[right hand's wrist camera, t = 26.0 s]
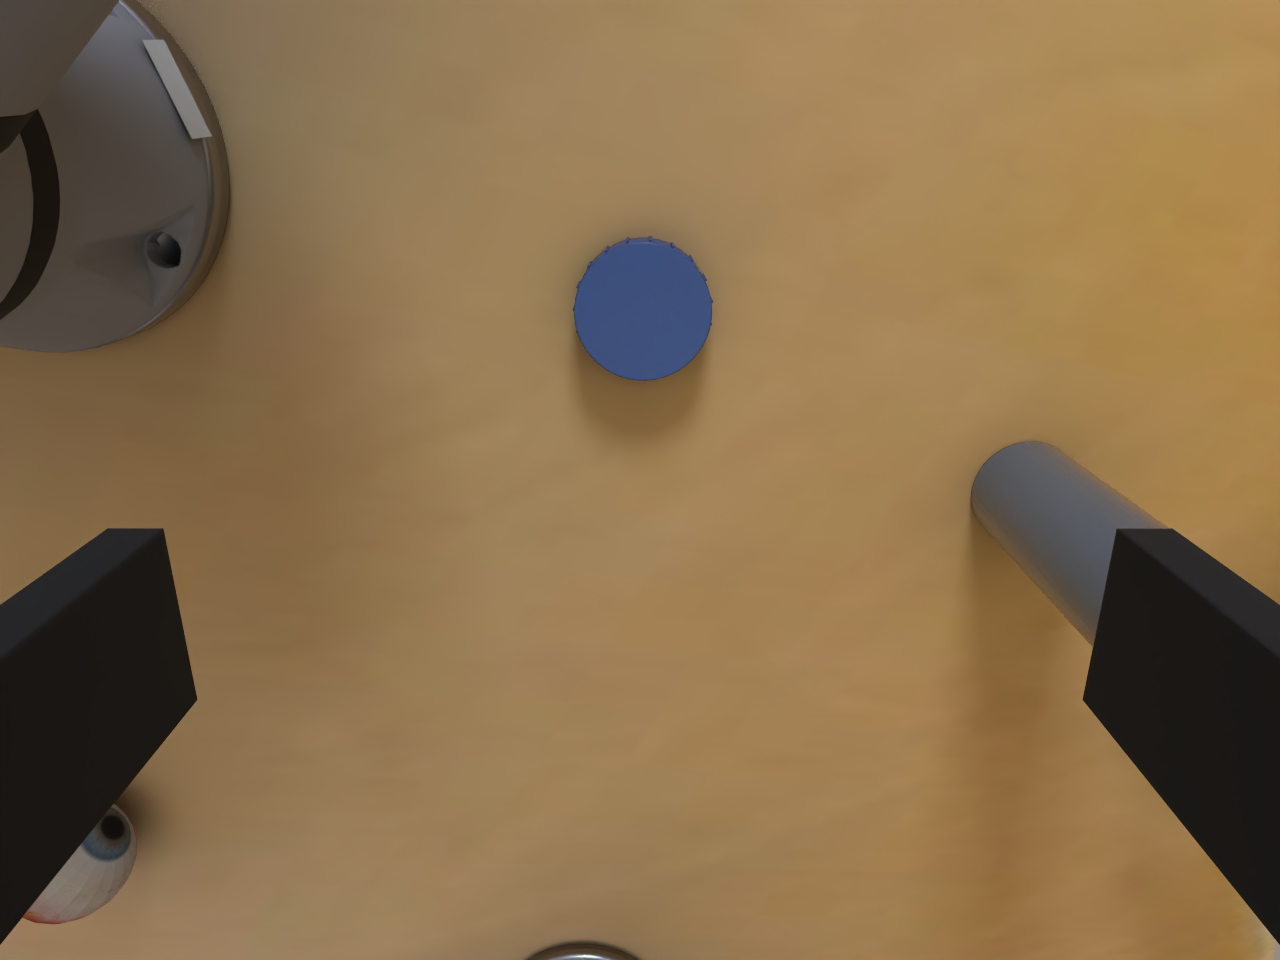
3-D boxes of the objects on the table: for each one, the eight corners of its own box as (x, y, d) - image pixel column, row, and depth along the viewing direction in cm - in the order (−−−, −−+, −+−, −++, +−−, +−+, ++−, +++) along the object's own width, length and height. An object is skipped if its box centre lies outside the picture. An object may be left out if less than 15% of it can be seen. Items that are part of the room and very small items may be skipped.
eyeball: (186, 824, 48) (126, 913, 43) (104, 877, 49) (35, 971, 44) (102, 747, 47) (28, 830, 41) (20, 805, 48) (-63, 892, 42)
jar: (989, 433, 41) (1222, 622, 25) (1091, 450, 41) (1390, 650, 25) (957, 530, 43) (1156, 768, 26) (1056, 546, 43) (1314, 792, 26)
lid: (600, 387, 40) (598, 399, 38) (557, 260, 38) (552, 266, 36) (725, 348, 40) (729, 359, 38) (687, 217, 38) (690, 221, 36)
